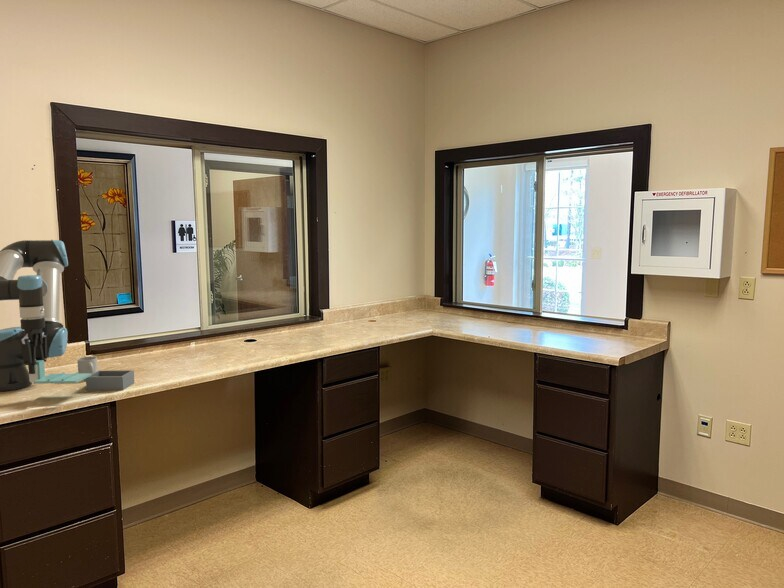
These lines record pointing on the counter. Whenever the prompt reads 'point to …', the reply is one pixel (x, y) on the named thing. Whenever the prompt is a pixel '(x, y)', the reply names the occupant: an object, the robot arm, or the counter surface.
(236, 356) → the counter surface
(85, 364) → the cup
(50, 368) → the counter surface
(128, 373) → the tub
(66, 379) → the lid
